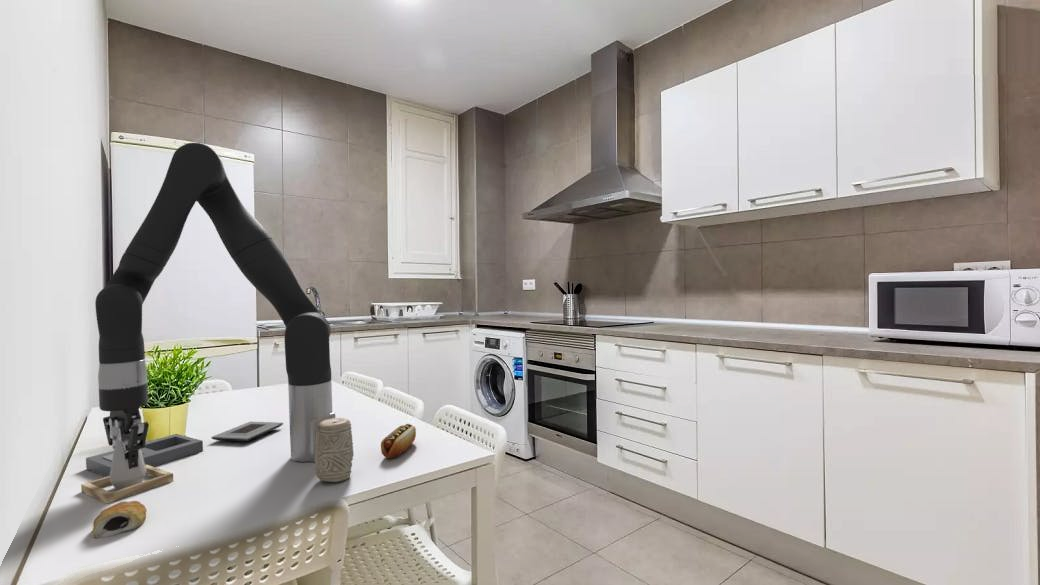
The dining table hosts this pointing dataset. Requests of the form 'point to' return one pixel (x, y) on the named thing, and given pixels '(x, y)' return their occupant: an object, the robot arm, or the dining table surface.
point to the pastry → (119, 519)
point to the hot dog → (398, 441)
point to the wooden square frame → (107, 497)
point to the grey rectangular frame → (151, 453)
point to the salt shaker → (125, 466)
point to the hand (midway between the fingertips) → (127, 468)
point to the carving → (333, 450)
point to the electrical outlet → (247, 431)
